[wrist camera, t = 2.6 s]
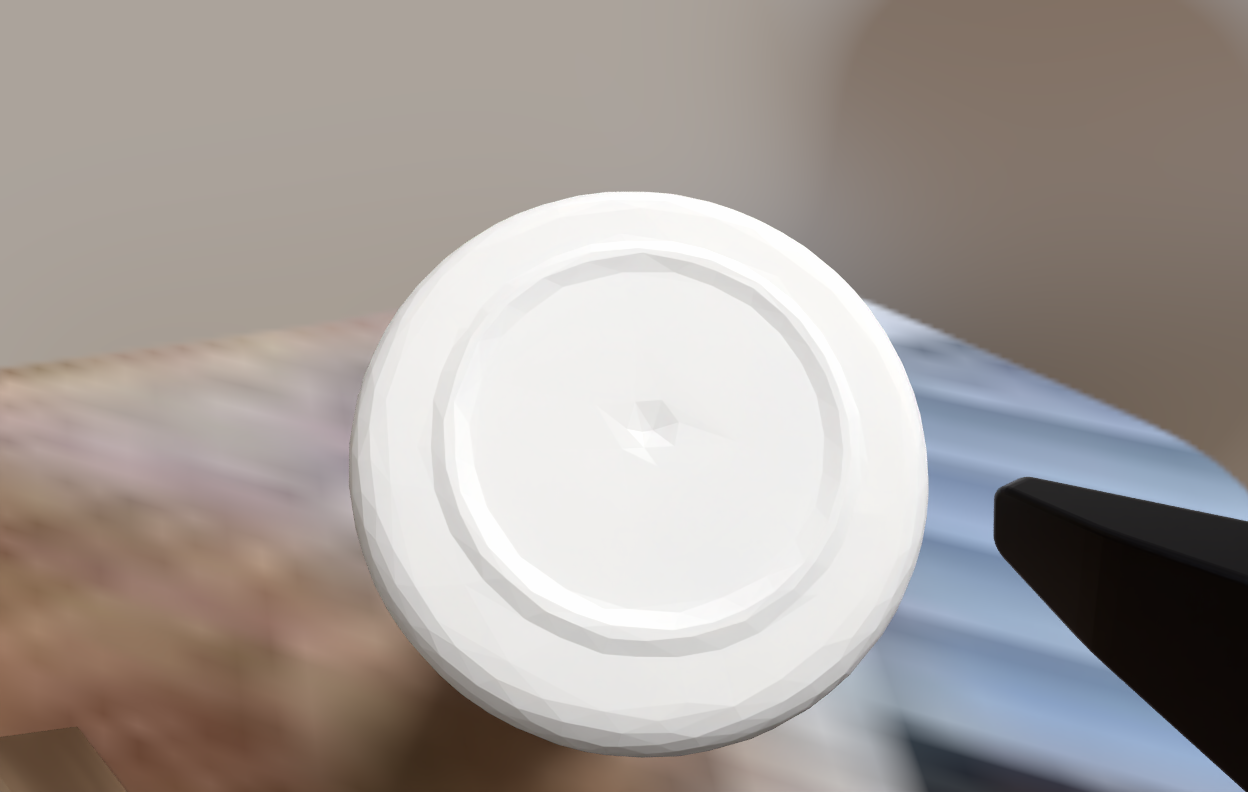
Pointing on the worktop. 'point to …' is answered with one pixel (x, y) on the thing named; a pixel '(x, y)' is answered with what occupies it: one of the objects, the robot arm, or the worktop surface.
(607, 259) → the sprinkles bottle
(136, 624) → the worktop surface
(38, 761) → the walnut block
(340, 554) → the worktop surface
